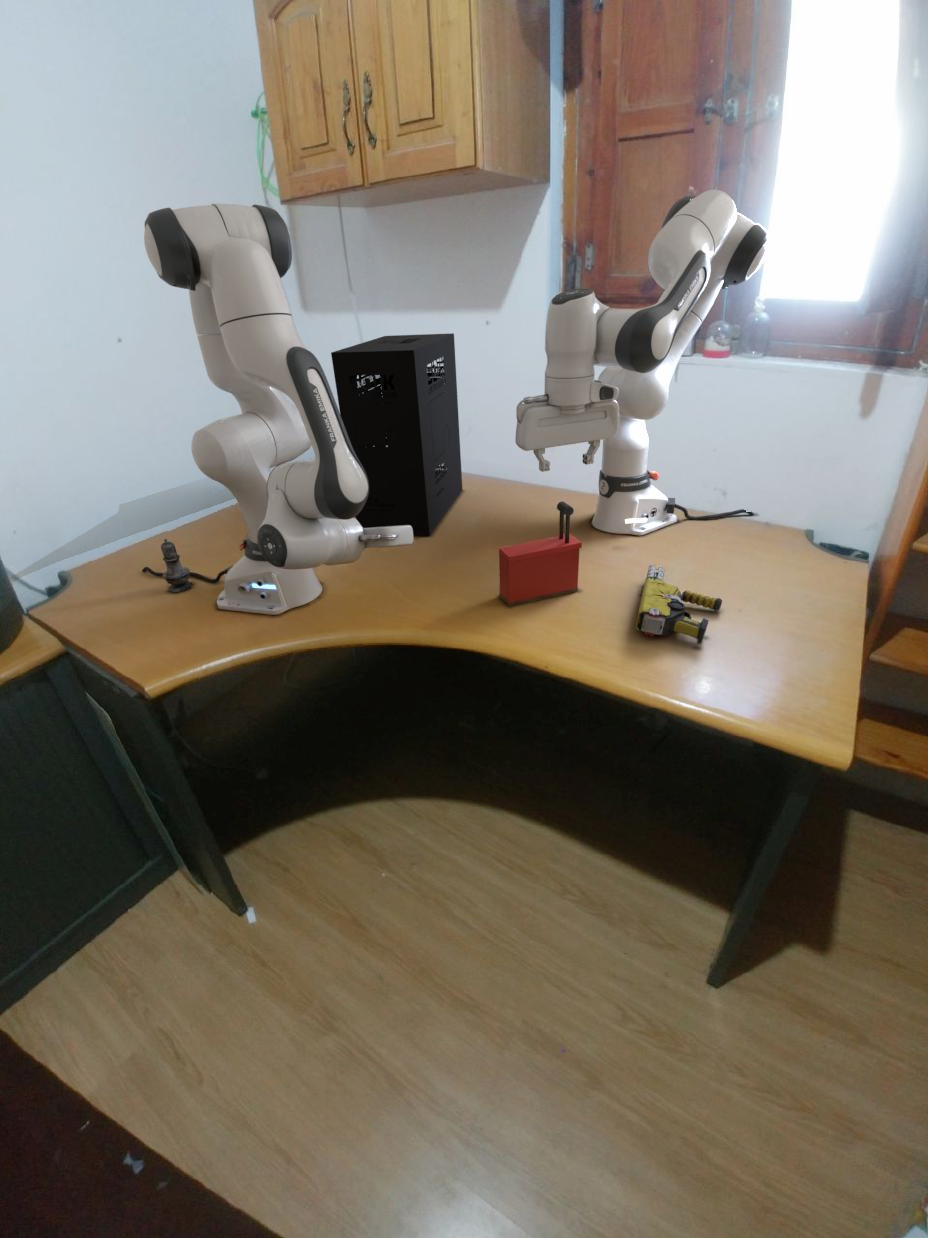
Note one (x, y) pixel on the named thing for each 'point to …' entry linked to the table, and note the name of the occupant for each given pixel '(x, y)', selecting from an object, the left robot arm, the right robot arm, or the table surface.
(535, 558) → the chest
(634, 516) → the right robot arm
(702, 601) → the toy gun
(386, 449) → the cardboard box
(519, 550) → the lid
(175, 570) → the salt shaker
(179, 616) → the table surface
